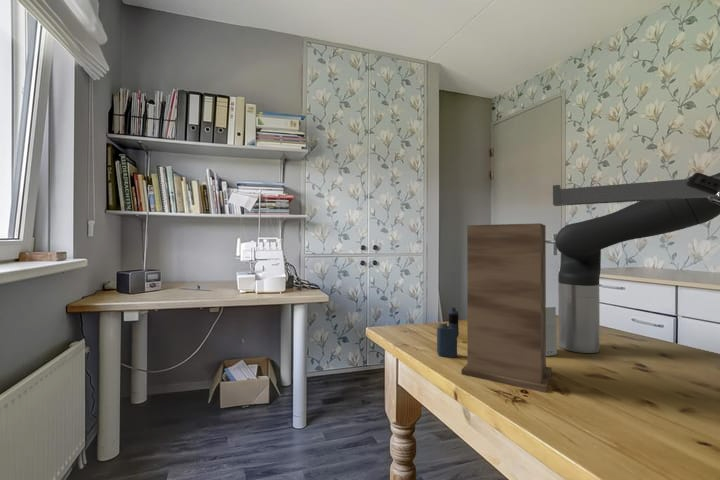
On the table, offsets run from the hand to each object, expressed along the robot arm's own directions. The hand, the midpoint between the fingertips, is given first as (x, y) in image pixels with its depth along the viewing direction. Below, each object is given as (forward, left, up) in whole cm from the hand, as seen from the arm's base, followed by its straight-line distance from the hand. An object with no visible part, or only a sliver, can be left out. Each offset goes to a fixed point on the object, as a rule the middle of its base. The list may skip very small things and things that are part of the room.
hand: (689, 180), depth 58 cm
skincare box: (-20, -25, -39) cm, 50 cm away
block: (0, -8, -3) cm, 8 cm away
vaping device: (-4, -43, -39) cm, 59 cm away
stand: (0, -29, -39) cm, 49 cm away
